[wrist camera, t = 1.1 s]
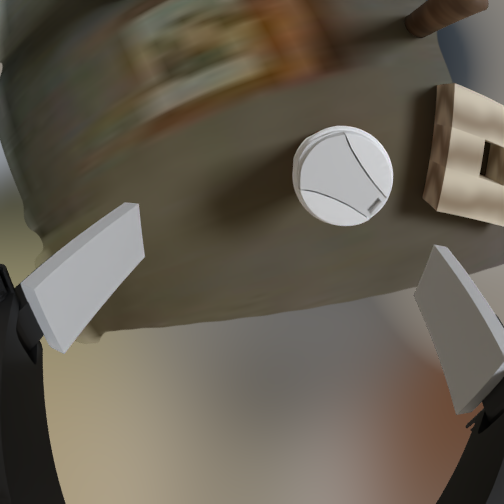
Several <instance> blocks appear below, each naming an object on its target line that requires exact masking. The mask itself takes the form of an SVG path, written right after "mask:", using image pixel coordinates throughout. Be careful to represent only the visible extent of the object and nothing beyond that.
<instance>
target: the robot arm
mask: <svg viewBox="0 0 504 504" xmlns="http://www.w3.org/2000/svg"><path fill="white" fill-rule="evenodd" d="M144 257H145V255H144V247H143V239H142V231H141V222H140V212H139V204H136V203H124V204H122V205H121V206H119V207H118V208H116V209H115V210H113V211H112V212H110V213H109V214H107V215H106V216H105V217H103V218H102V219H100V220H99V221H97V222H96V223H95V224H93V225H92V226H91V227H89V228H88V229H86V230H85V231H84V232H82V233H81V234H80V235H78V236H77V237H76V238H74V239H73V240H72V241H71V242H69V243H68V244H67V245H65V246H64V247H63V248H62V249H60V250H59V251H58V252H57V253H55V254H54V255H52V256H51V257H50V258H49V259H47V260H46V262H44V263H43V264H41V265H40V266H39V267H38V268H37V269H36V270H34V271H33V272H32V273H31V274H30V275H29V276H28V277H26V278H25V279H24V280H23V281H22V282H21V283H20V284H19V285H18V286H16V288H14V286H13V284H12V282H11V279H10V276H9V273H8V271H7V268H6V266H5V265H3V264H0V504H65V500H64V497H63V494H62V491H61V487H60V484H59V481H58V476H57V472H56V468H55V464H54V459H53V455H52V450H51V444H50V439H49V432H48V425H47V418H46V409H45V400H44V386H43V357H42V356H43V355H42V354H43V353H42V352H43V349H42V344H41V342H40V339H41V338H42V336H43V335H44V336H45V338H46V340H47V342H48V344H49V346H50V347H51V348H53V349H55V350H57V351H60V352H61V353H63V354H64V353H65V352H66V351H67V350H68V348H69V347H70V346H71V344H72V343H73V342H74V341H75V339H76V338H77V337H78V335H79V334H80V333H81V331H82V330H83V329H84V328H85V326H86V325H87V324H88V323H89V321H90V320H91V319H92V318H93V316H94V315H95V314H96V313H97V311H98V310H99V309H100V308H101V307H102V305H103V304H104V303H105V302H106V301H107V299H108V298H109V297H110V296H111V295H112V293H113V292H114V291H115V290H116V289H117V288H118V286H119V285H120V284H121V283H122V282H123V281H124V280H125V278H126V277H127V276H128V275H129V274H130V273H131V272H132V270H133V269H134V268H135V267H136V266H137V265H138V264H139V263H140V262H141V260H142V259H143V258H144ZM414 297H415V299H416V302H417V304H418V306H419V309H420V311H421V313H422V316H423V318H424V320H425V323H426V325H427V328H428V330H429V333H430V336H431V338H432V341H433V343H434V346H435V349H436V351H437V354H438V357H439V360H440V363H441V366H442V369H443V371H444V375H445V378H446V381H447V384H448V387H449V390H450V394H451V397H452V401H453V405H454V408H455V412H456V415H457V414H463V413H469V412H472V411H473V410H474V409H475V408H476V407H477V406H478V405H479V404H480V403H481V402H482V403H483V406H484V409H483V410H482V411H480V412H479V413H478V414H477V416H475V417H474V418H473V419H472V420H471V421H470V422H469V423H468V424H467V425H466V428H468V427H469V426H471V425H472V424H473V423H475V425H474V427H473V428H472V429H471V431H472V433H471V435H470V438H469V440H468V443H467V445H466V447H465V450H464V452H463V454H462V456H461V458H460V461H459V463H458V465H457V467H456V469H455V471H454V473H453V475H452V477H451V478H450V480H449V482H448V484H447V486H446V488H445V489H444V491H443V493H442V495H441V497H440V498H439V500H438V501H437V503H436V504H504V326H503V324H502V323H501V321H500V319H499V318H498V317H497V315H496V314H495V313H494V312H493V310H492V309H491V307H490V305H489V304H488V302H487V301H486V299H485V298H484V296H483V295H482V293H481V292H480V291H479V289H478V288H477V286H476V285H475V283H474V282H473V281H472V279H471V278H470V277H469V275H468V274H467V272H466V271H465V270H464V268H463V267H462V266H461V264H460V263H459V262H458V260H457V259H456V258H455V257H454V255H453V254H452V253H451V252H450V250H449V249H448V248H447V247H443V246H438V245H434V246H433V248H432V251H431V254H430V257H429V259H428V262H427V264H426V267H425V270H424V272H423V275H422V277H421V279H420V282H419V284H418V286H417V289H416V291H415V293H414Z"/></svg>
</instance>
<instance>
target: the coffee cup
mask: <svg viewBox="0 0 504 504" xmlns="http://www.w3.org/2000/svg"><path fill="white" fill-rule="evenodd" d="M292 178H293V185H294V190H295V192H296V195H297V197H298V199H299V201H300V202H301V204H302V205H303V207H304V208H305V209H306V210H307V211H308V212H309V213H310V214H311V215H313V216H314V217H316V218H317V219H319V220H321V221H323V222H325V223H329V224H332V225H338V226H352V225H358V224H361V223H364V222H366V221H368V220H369V218H371V217H372V216H374V215H375V214H376V213H377V212H378V211H379V210H380V209H381V208H382V207H383V205H384V204H385V203H386V201H387V199H388V197H389V195H390V192H391V189H392V183H393V170H392V165H391V161H390V158H389V156H388V154H387V152H386V150H385V149H384V147H383V146H382V145H381V144H380V142H379V141H378V140H377V139H376V138H374V137H373V136H372V135H370V134H369V133H367V132H365V131H363V130H361V129H358V128H355V127H349V126H335V127H329V128H326V129H323V130H321V131H318V132H316V133H315V134H313V135H311V136H309V137H307V138H306V139H305V140H304V141H303V142H302V143H301V145H300V146H299V148H298V149H297V151H296V153H295V155H294V158H293V173H292Z"/></svg>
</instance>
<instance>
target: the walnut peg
mask: <svg viewBox="0 0 504 504" xmlns="http://www.w3.org/2000/svg"><path fill="white" fill-rule="evenodd" d="M487 8H488V0H428V1H426V2H425V3H424V4H422V5H421V6H420V7H419V8H417V9H416V10H415V11H413V12H412V13H411V14H410V15H408V16H407V17H406V18H405V26H406V28H407V29H408V31H409V32H410V33H411V34H413V35H414V36H416V37H420V38H422V37H426V36H427V35H429V34H432V33H434V32H436V31H438V30H440V29H442V28H444V27H446V26H448V25H450V24H453V23H455V22H457V21H459V20H462V19H464V18H466V17H469V16H471V15H473V14H476V13H478V12H481V11H483V10H486V9H487Z"/></svg>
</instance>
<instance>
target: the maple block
mask: <svg viewBox="0 0 504 504" xmlns="http://www.w3.org/2000/svg"><path fill="white" fill-rule="evenodd" d="M485 142H488V143H490V150H489V157H488V163H487V168H486V174H485V176H484V175H481V174H480V170H481V164H482V158H483V152H484V145H485ZM422 198H423V199H424V200H425V201H426V202H427V203H428V204H429V205H431V206H432V207H433V208H434V209H435V210H436V211H439V212H444V213H448V214H453V215H458V216H462V217H467V218H471V219H476V220H480V221H484V222H488V223H492V224H496V225H500V226H504V106H503V105H501V104H499V103H497V102H495V101H493V100H491V99H489V98H487V97H485V96H483V95H481V94H479V93H477V92H474V91H472V90H470V89H467V88H465V87H463V86H460V85H458V84H455V83H453V84H442V85H437V96H436V110H435V121H434V131H433V139H432V147H431V154H430V160H429V166H428V172H427V177H426V183H425V188H424V192H423V197H422Z"/></svg>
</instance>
